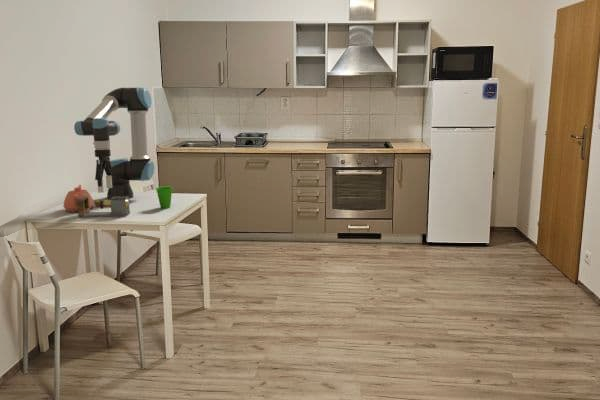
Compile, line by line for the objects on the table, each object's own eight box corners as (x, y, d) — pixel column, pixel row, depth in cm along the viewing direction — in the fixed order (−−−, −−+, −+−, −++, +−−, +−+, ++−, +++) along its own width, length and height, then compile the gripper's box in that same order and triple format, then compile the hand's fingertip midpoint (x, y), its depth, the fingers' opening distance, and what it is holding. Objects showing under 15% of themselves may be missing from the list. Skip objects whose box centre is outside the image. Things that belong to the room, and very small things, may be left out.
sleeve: (115, 213, 288) (114, 196, 286) (129, 213, 288) (128, 196, 286) (111, 216, 281) (110, 198, 279) (126, 216, 282) (125, 198, 280)
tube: (98, 207, 286) (97, 198, 285) (129, 207, 287) (129, 197, 286) (94, 209, 281) (94, 200, 280) (127, 209, 282) (126, 199, 281)
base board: (84, 213, 288) (84, 212, 288) (130, 213, 289) (130, 211, 289) (78, 217, 280) (78, 215, 280) (125, 216, 281) (125, 215, 281)
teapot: (67, 206, 306) (65, 184, 304) (96, 204, 310) (94, 183, 308) (61, 215, 286) (58, 191, 283) (91, 213, 289) (89, 190, 287)
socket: (84, 213, 288) (82, 195, 286) (89, 213, 288) (88, 195, 286) (78, 217, 280) (76, 198, 278) (84, 217, 280) (82, 198, 278)
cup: (176, 206, 304) (175, 186, 302) (168, 209, 296) (167, 189, 294) (162, 205, 307) (161, 186, 305) (153, 208, 298) (152, 189, 296)
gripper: (102, 146, 289) (105, 186, 294) (86, 151, 265) (89, 194, 269) (117, 146, 290) (119, 186, 294) (101, 151, 265) (105, 194, 269)
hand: (105, 190), depth 281 cm, fingers open, 13 cm apart
